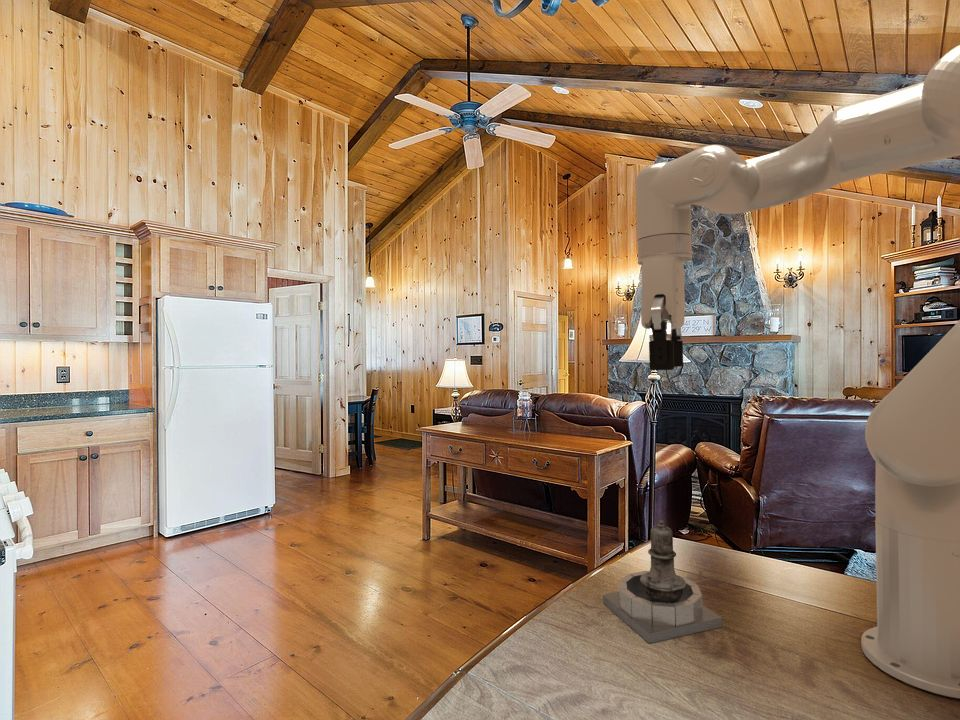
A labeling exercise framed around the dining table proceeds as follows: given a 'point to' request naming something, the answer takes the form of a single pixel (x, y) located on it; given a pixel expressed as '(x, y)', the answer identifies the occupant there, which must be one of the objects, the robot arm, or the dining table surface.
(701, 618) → the hub plate
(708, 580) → the dining table surface
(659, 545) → the salt shaker
